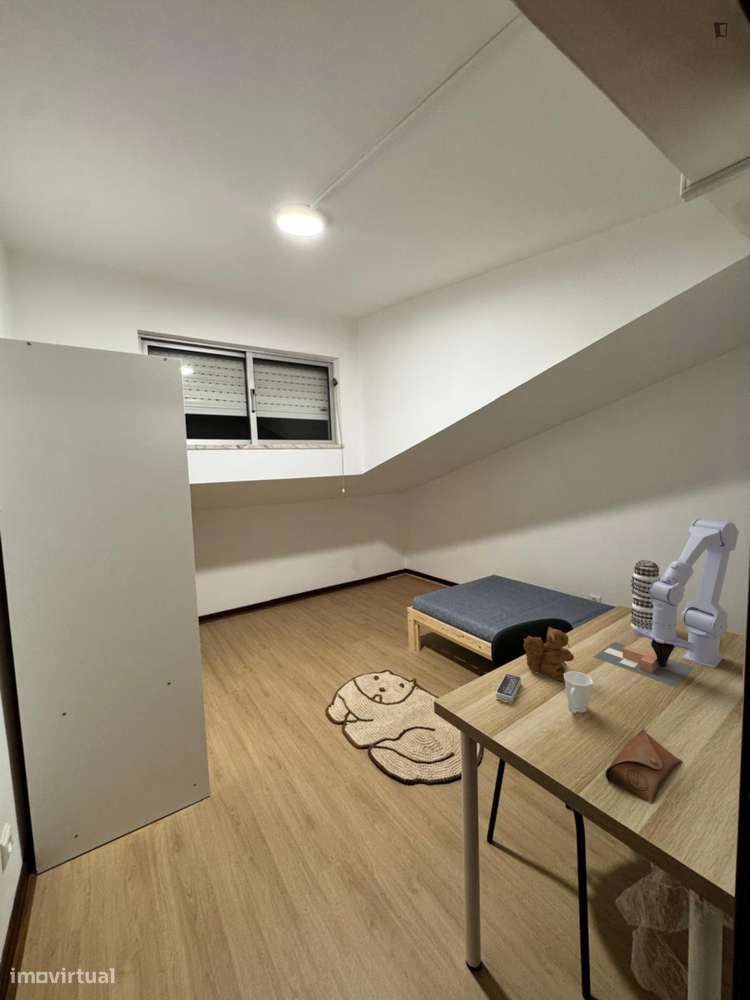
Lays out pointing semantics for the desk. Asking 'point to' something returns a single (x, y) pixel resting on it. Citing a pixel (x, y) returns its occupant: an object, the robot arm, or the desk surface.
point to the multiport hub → (508, 688)
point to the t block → (642, 658)
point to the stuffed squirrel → (548, 654)
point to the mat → (667, 674)
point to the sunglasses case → (642, 767)
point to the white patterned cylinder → (643, 594)
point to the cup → (578, 691)
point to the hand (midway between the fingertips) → (662, 665)
